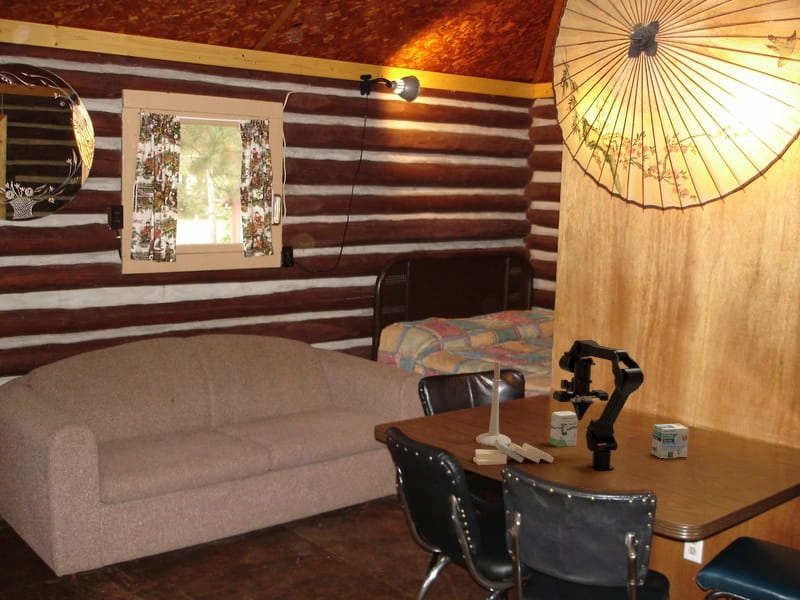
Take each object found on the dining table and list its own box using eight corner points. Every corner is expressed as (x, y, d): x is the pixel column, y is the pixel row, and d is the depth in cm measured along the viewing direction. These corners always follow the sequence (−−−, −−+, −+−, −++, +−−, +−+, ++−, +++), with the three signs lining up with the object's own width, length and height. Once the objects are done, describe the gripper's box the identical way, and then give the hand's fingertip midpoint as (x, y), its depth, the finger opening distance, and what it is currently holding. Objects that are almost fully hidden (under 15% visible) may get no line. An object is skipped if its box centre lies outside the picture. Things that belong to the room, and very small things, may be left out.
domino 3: (524, 458, 302) (500, 444, 300) (521, 462, 302) (497, 448, 300) (520, 453, 307) (496, 439, 305) (517, 457, 307) (493, 443, 305)
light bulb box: (660, 459, 313) (663, 429, 312) (650, 453, 320) (652, 424, 319) (687, 457, 316) (690, 428, 315) (677, 452, 323) (679, 423, 321)
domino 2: (506, 460, 301) (478, 461, 298) (506, 465, 301) (478, 466, 298) (501, 455, 305) (473, 457, 303) (500, 461, 306) (473, 462, 303)
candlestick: (470, 437, 332) (473, 357, 328) (501, 435, 336) (505, 356, 333) (485, 447, 320) (489, 364, 316) (517, 444, 324) (521, 363, 321)
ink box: (557, 447, 323) (559, 415, 322) (549, 443, 327) (551, 412, 326) (576, 445, 327) (578, 413, 326) (568, 441, 331) (570, 410, 330)
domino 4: (540, 458, 303) (515, 446, 301) (538, 463, 303) (513, 451, 301) (535, 453, 308) (511, 442, 305) (533, 458, 308) (508, 446, 305)
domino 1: (506, 454, 301) (477, 453, 301) (506, 459, 301) (476, 458, 301) (504, 450, 306) (475, 449, 306) (504, 455, 306) (475, 454, 306)
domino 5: (554, 458, 303) (528, 446, 301) (551, 463, 304) (526, 451, 301) (549, 454, 308) (524, 442, 306) (546, 458, 308) (522, 447, 306)
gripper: (595, 370, 319) (592, 413, 321) (547, 371, 314) (544, 415, 316) (610, 377, 309) (607, 421, 311) (561, 378, 303) (558, 423, 305)
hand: (579, 420), depth 311 cm, fingers closed
